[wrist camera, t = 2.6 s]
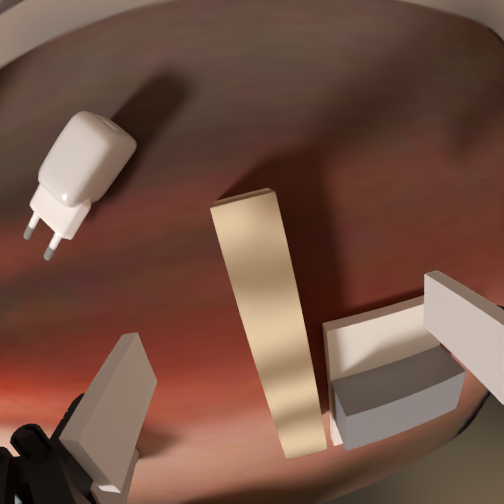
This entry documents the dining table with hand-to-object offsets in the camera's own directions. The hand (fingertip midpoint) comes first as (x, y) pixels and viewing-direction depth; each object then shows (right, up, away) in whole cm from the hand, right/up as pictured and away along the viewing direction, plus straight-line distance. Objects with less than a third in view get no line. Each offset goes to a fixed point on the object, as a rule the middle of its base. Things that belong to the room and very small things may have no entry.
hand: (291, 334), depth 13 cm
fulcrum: (+12, -9, +15) cm, 21 cm away
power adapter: (-15, +9, +10) cm, 20 cm away
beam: (0, -3, +14) cm, 14 cm away
